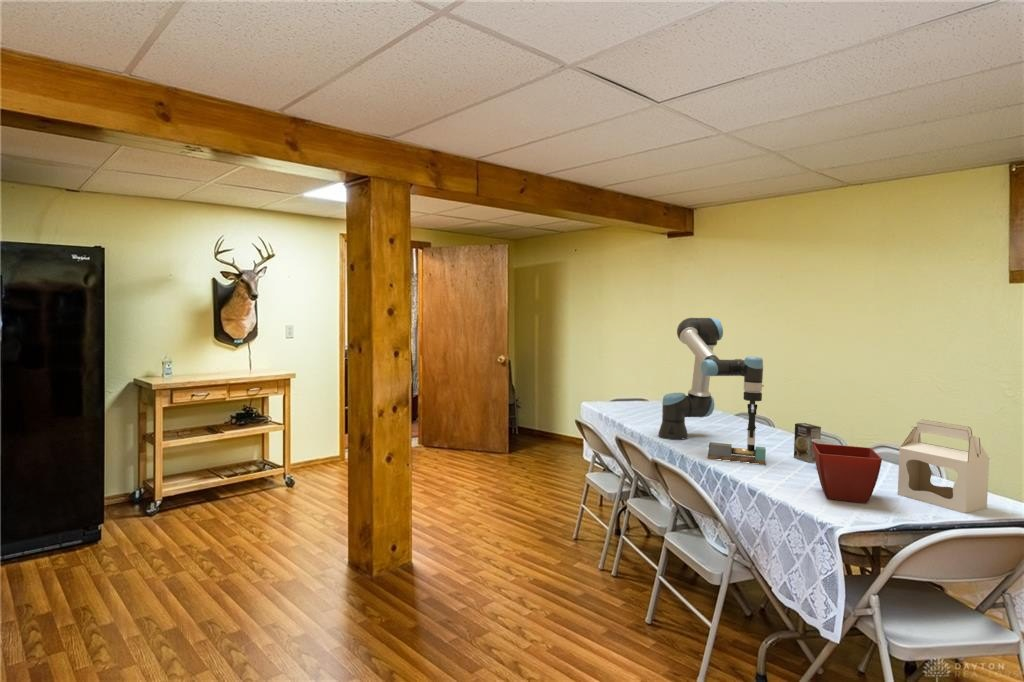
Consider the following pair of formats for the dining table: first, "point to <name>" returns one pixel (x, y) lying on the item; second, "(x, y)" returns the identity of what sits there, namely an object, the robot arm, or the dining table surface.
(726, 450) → the grey rectangular block
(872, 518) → the dining table surface
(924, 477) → the gable box
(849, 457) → the plant pot
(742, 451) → the slip tube
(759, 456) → the teal socket block
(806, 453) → the coffee box
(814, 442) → the plastic cup
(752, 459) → the walnut board
